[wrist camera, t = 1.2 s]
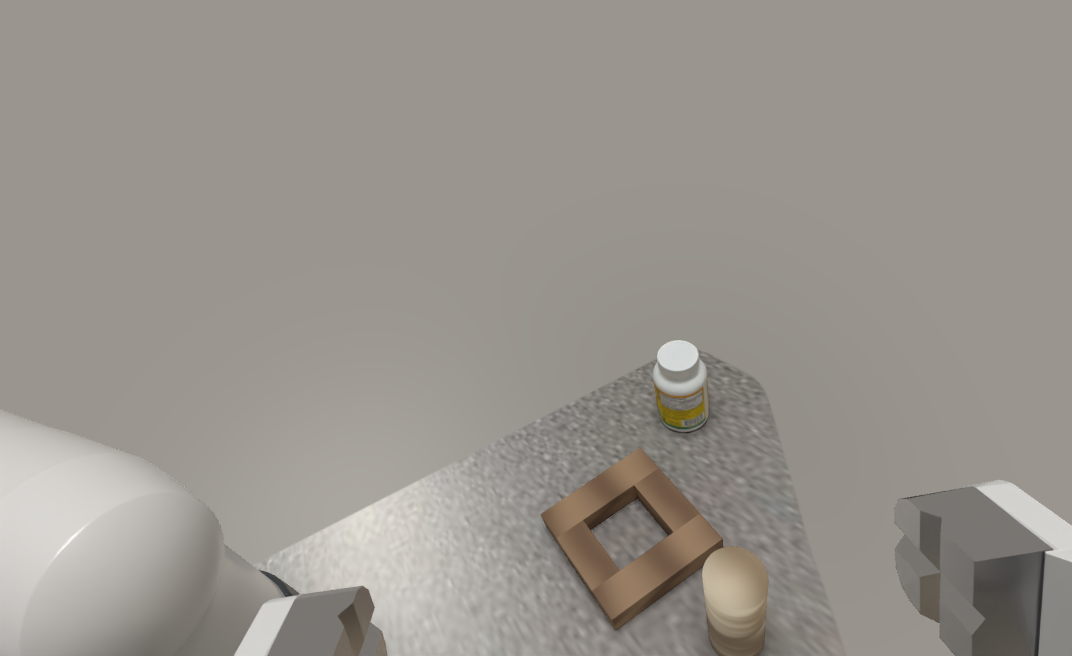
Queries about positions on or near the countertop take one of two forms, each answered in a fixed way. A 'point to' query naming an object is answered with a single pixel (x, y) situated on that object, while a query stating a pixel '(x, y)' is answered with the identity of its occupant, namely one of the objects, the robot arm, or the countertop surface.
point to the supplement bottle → (681, 386)
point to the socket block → (656, 567)
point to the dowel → (735, 601)
